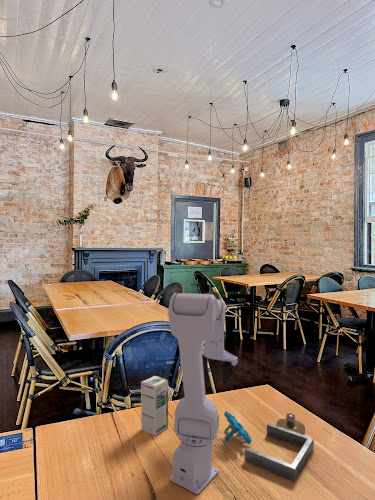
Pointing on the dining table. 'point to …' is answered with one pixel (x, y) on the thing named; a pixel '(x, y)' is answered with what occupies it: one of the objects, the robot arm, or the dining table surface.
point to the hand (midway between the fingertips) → (215, 379)
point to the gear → (235, 428)
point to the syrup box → (154, 405)
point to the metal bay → (277, 465)
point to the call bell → (291, 424)
